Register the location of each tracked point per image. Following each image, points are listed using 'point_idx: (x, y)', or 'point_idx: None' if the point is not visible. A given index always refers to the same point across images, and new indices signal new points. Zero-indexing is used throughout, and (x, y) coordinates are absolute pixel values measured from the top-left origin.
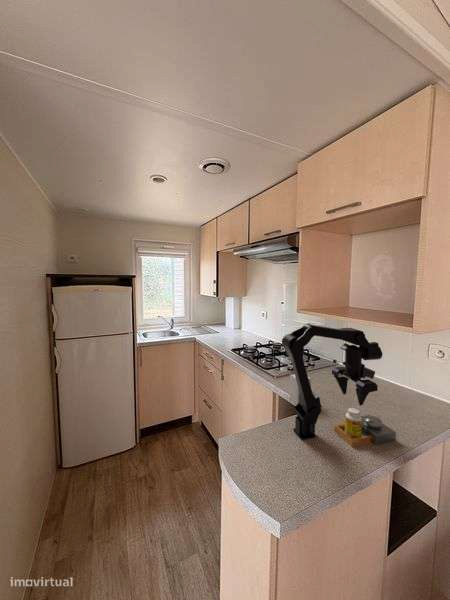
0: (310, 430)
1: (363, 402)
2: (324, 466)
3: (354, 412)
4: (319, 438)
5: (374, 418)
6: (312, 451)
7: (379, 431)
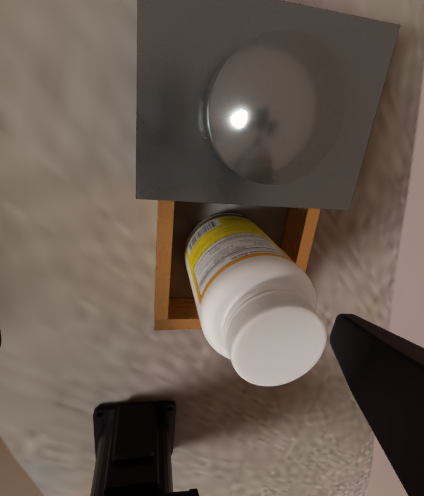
0: (169, 452)
1: (387, 335)
2: (305, 433)
3: (305, 364)
4: (183, 391)
5: (274, 76)
6: (238, 438)
7: (337, 144)
